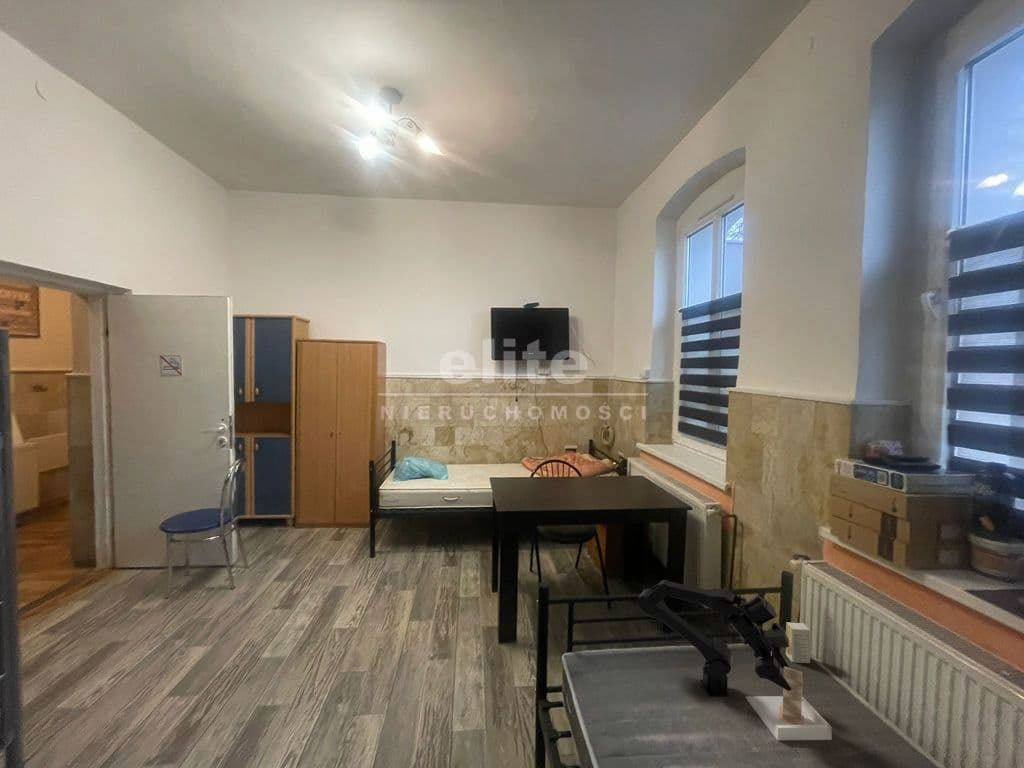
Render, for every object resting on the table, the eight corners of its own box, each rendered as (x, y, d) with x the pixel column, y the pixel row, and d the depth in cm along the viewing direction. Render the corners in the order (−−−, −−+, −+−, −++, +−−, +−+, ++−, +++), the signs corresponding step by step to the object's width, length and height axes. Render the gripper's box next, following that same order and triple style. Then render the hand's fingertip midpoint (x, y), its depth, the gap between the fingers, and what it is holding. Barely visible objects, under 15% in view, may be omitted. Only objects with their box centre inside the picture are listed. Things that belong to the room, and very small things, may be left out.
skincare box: (803, 655, 152) (804, 622, 152) (810, 664, 147) (811, 630, 147) (784, 654, 152) (785, 621, 152) (791, 662, 148) (792, 628, 148)
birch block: (782, 718, 123) (784, 675, 122) (782, 708, 126) (784, 666, 126) (800, 725, 120) (802, 681, 120) (800, 715, 124) (802, 672, 124)
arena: (777, 740, 116) (778, 727, 116) (745, 698, 131) (745, 687, 131) (831, 739, 116) (832, 727, 116) (793, 698, 131) (793, 687, 131)
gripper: (770, 634, 118) (816, 689, 112) (771, 605, 134) (812, 651, 128) (737, 651, 123) (780, 705, 117) (742, 620, 138) (781, 666, 132)
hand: (790, 680), depth 123 cm, fingers open, 9 cm apart
